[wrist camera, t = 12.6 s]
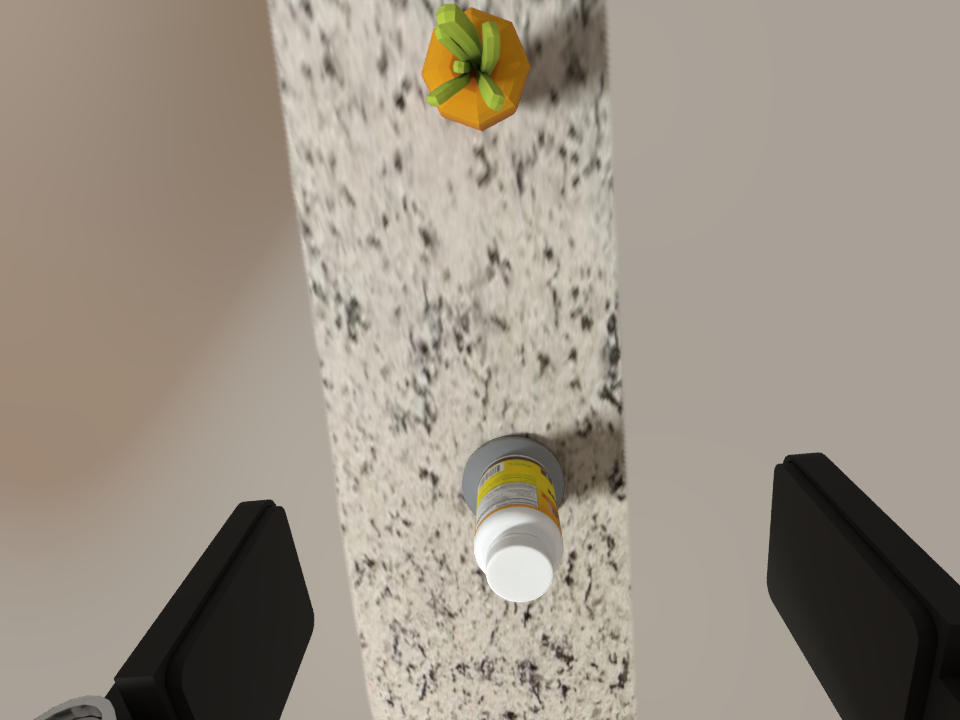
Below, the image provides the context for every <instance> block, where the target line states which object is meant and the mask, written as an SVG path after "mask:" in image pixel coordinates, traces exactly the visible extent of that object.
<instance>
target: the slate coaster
mask: <svg viewBox="0 0 960 720" xmlns="http://www.w3.org/2000/svg"><path fill="white" fill-rule="evenodd" d="M508 455H523V456H527V457H530V458H533V459H535V460H536V461H538V462H539V463H541V464H542V465H543V466H544V467H545V468H546V470H547V471H548V473H549V474H550V476H551V479H552V482H553V486H554V492H555V498H556V504H557V508H558V507H559V505H560V503H561V500H562V497H563V494H564V478H563V473H562V469H561V466H560V464H559V462H558V460H557V458H556V457H555V455H554V454H553V453H552V452H551V451H550V450H549V449H548V448H547V447H546V446H544V445H543V444H541V443H539V442H537V441H535V440H533V439H530V438H526V437H522V436H505V437H500V438H496V439H493V440H491V441H488V442H487V443H485V444H483V445H482V446H481V447H479V448H478V449H477V450H476V451H475V452H474V453H473V454H472V455H471V457H470V458H469V460H468V462H467V464H466V466H465V470H464V474H463V483H462V488H463V495H464V498H465V501H466V503H467V505H468V507H469V508H470V510H471V511H472V512H473V513H474V514H475V515H476V509H477V497H478V486H479V481H480V478H481V475H482V473H483V472H484V470H485V469H486V468H487V467H488V466H489V465H490V464H491V463H492V462H494V461H495V460H497V459H499V458H501V457H504V456H508Z"/></svg>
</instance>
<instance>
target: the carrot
mask: <svg viewBox="0 0 960 720" xmlns="http://www.w3.org/2000/svg"><path fill="white" fill-rule="evenodd" d="M436 16H437V22H438V25H437V26H436V28H435V29H434V30H433V33H432V37H431V41H430V45H429V48H428V52H427V56H426V59H425V63H424V67H423V70H422V77H423V79H424V81H425V83H426V85H427V87H428V89H429V91H430V94H429V95H428V96H427V97H426V98H427V102H428V103H429V104H430V105H431V106H437V108H438V110H439V112H440V114H441V116H443V117H444V118H447V119H449V120H452V121H455V122H458V123H461V124H463V125H466V126H469V127H472V128H475V129H478V130H480V131H484V130H485V129H487V128H489V127H491V126H493V125H495V124H497V123H498V122H500V121H502V120H504V119H506V118H508V117H509V116H511V115H513V114H514V113H515V112H516V110H517V107H518V104H519V101H520V98H521V95H522V91H523V88H524V85H525V82H526V79H527V76H528V73H529V70H530V67H531V65H530V63H529V61H528V58H527V56H526V54H525V51H524V49H523V47H522V44H521V42H520V40H519V37H518V35H517V33H516V30H515V28H514V26H513V23H512V22H510V21H507V20H504V19H502V18H499V17H496V16H494V15H491V14H488V13H485V12H483V11H480V10H477V9H475V8H472V7H471V8H469V9H468V10H466V11H464V12H463V11H462V10H461V9H460V8H459V7H458V6H457V5H456V4H445V5H443V6H442V7H440V8H438V12H437V15H436Z"/></svg>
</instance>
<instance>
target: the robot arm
mask: <svg viewBox="0 0 960 720" xmlns="http://www.w3.org/2000/svg"><path fill="white" fill-rule="evenodd" d="M772 496H773V497H772V510H771V525H770V540H769V554H768V570H767V587H768V592H769V595H770V597H771V600H772V602H773V603H774V605H775V607H776V609H777V610H778V612H779V614H780V615H781V617H782V619H783V620H784V622H785V624H786V626H787V627H788V629H789V630H790V632H791V634H792V636H793V637H794V639H795V641H796V642H797V644H798V646H799V648H800V649H801V651H802V652H803V654H804V656H805V658H806V659H807V661H808V663H809V664H810V666H811V668H812V670H813V671H814V673H815V675H816V676H817V678H818V680H819V681H820V683H821V685H822V686H823V688H824V690H825V691H826V693H827V695H828V696H829V698H830V700H831V702H832V703H833V705H834V706H835V708H836V710H837V712H838V713H839V715H840V717H841V718H842V720H960V585H959V584H958V583H957V582H956V581H955V580H954V579H953V578H952V577H951V576H949V574H948V573H946V571H944V570H943V569H942V568H941V567H940V566H939V565H938V564H937V563H936V562H935V561H934V560H933V559H932V558H931V557H930V556H929V555H928V554H927V553H926V552H925V551H924V550H923V549H922V548H921V547H920V546H919V545H918V544H916V542H914V541H913V540H912V539H911V538H910V537H909V536H908V535H907V534H906V533H905V532H904V531H903V530H902V529H901V528H900V527H899V526H898V525H897V524H896V523H895V522H894V521H893V520H892V519H891V518H890V517H889V516H888V515H886V514H885V513H884V512H883V511H882V510H881V509H880V508H879V507H878V506H877V505H876V504H875V503H874V502H873V501H872V500H871V499H870V498H869V497H868V496H867V495H866V494H865V493H864V492H863V491H862V490H861V489H859V488H858V487H857V486H856V485H855V484H854V483H853V482H852V481H851V480H850V479H849V478H848V477H847V476H846V475H845V474H844V473H843V472H842V471H841V470H840V469H839V468H838V467H837V466H836V465H835V464H834V463H833V462H832V461H831V460H830V459H828V458H827V457H826V456H825V455H824V454H823V453H807V454H795V455H788V456H786V457H785V459H784V461H783V464H777V465H776V467H775V470H774V481H773V495H772ZM313 627H314V612H313V608H312V605H311V601H310V598H309V594H308V591H307V587H306V584H305V580H304V577H303V573H302V569H301V566H300V562H299V559H298V555H297V552H296V548H295V545H294V541H293V537H292V534H291V530H290V527H289V523H288V520H287V516H286V513H285V510H284V508H283V507H281V506H276V504H275V503H274V502H273V501H272V500H259V501H247V502H242V503H240V504H239V505H238V506H237V507H236V508H235V510H234V511H233V513H232V514H231V515H230V517H229V518H228V520H227V521H226V522H225V524H224V525H223V527H222V528H221V530H220V531H219V532H218V534H217V535H216V536H215V538H214V539H213V541H212V542H211V543H210V545H209V546H208V548H207V549H206V550H205V552H204V553H203V555H202V556H201V557H200V559H199V560H198V562H197V563H196V564H195V566H194V567H193V569H192V570H191V571H190V573H189V574H188V575H187V577H186V578H185V580H184V581H183V582H182V584H181V585H180V587H179V588H178V589H177V591H176V593H175V594H174V595H173V596H172V598H171V599H170V601H169V602H168V603H167V605H166V606H165V608H164V609H163V611H162V612H161V613H160V615H159V616H158V618H157V619H156V620H155V622H154V623H153V624H152V626H151V627H150V629H149V630H148V631H147V633H146V634H145V636H144V637H143V638H142V640H141V641H140V643H139V644H138V646H137V647H136V648H135V649H134V651H133V652H132V654H131V655H130V656H129V658H128V659H127V661H126V662H125V663H124V665H123V666H122V668H121V669H120V670H119V672H118V673H117V675H116V676H115V678H114V681H115V684H114V685H113V686H112V688H111V689H110V691H109V692H108V694H107V695H106V696H105V698H103V697H101V696H84V697H79V698H75V699H71V700H69V701H66V702H64V703H62V704H60V705H57V706H55V707H53V708H51V709H50V710H48V711H47V712H45V713H43V714H42V715H40V716H39V717H37V718H35V719H34V720H279V719H280V717H281V714H282V711H283V709H284V706H285V704H286V701H287V698H288V696H289V693H290V691H291V688H292V685H293V682H294V680H295V677H296V675H297V672H298V669H299V667H300V664H301V661H302V659H303V656H304V653H305V651H306V648H307V646H308V643H309V640H310V638H311V635H312V632H313Z"/></svg>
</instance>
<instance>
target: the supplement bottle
mask: <svg viewBox="0 0 960 720" xmlns="http://www.w3.org/2000/svg"><path fill="white" fill-rule="evenodd" d="M474 553H475V557H476V560H477V563H478V564H479V566H480V568H481V569H482V571H483V572H484V573H485V574H486V578H487V581H488V584H489V586H490V587H491V589H492V590H493V591H494V592H495V593H496V594H497V595H499V596H500V597H502V598H504V599H507V600H509V601H514V602H526V601H531V600H534V599H537V598H538V597H540V596H542V595H543V594H544V593H545V592H546V591H547V590H548V589H549V588H550V586H551V584H552V581H553V577H554V572H555V570H556V569H557V568H558V566H559V564H560V562H561V559H562V556H563V538H562V533H561V527H560V521H559V515H558V509H557V504H556V498H555V492H554V486H553V482H552V479H551V476H550V474H549V473H548V471H547V470H546V468H545V467H544V466H543V465H542V464H541V463H539V462H538V461H536V460H535V459H533V458H530V457H527V456H523V455H508V456H504V457H501V458H499V459H497V460H495V461H494V462H492V463H491V464H490V465H489V466H488V467H487V468H486V469H485V470H484V472H483V473H482V475H481V478H480V481H479V486H478V497H477V509H476V523H475V535H474Z"/></svg>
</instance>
